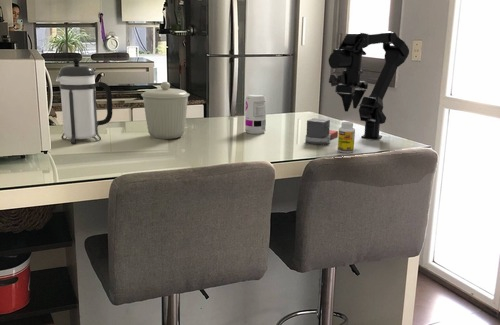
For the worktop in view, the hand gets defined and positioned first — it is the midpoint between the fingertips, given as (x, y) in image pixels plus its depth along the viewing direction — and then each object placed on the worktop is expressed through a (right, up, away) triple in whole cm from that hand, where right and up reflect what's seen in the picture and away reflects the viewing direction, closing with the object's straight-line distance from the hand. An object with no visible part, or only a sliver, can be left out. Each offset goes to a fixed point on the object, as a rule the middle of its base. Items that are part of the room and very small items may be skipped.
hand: (350, 109), depth 204 cm
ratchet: (-10, -11, +5) cm, 15 cm away
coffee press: (-99, -11, -1) cm, 100 cm away
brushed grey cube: (-12, -10, -1) cm, 16 cm away
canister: (-70, -10, +6) cm, 71 cm away
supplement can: (-36, -8, +17) cm, 40 cm away
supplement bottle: (-4, -16, -13) cm, 21 cm away
